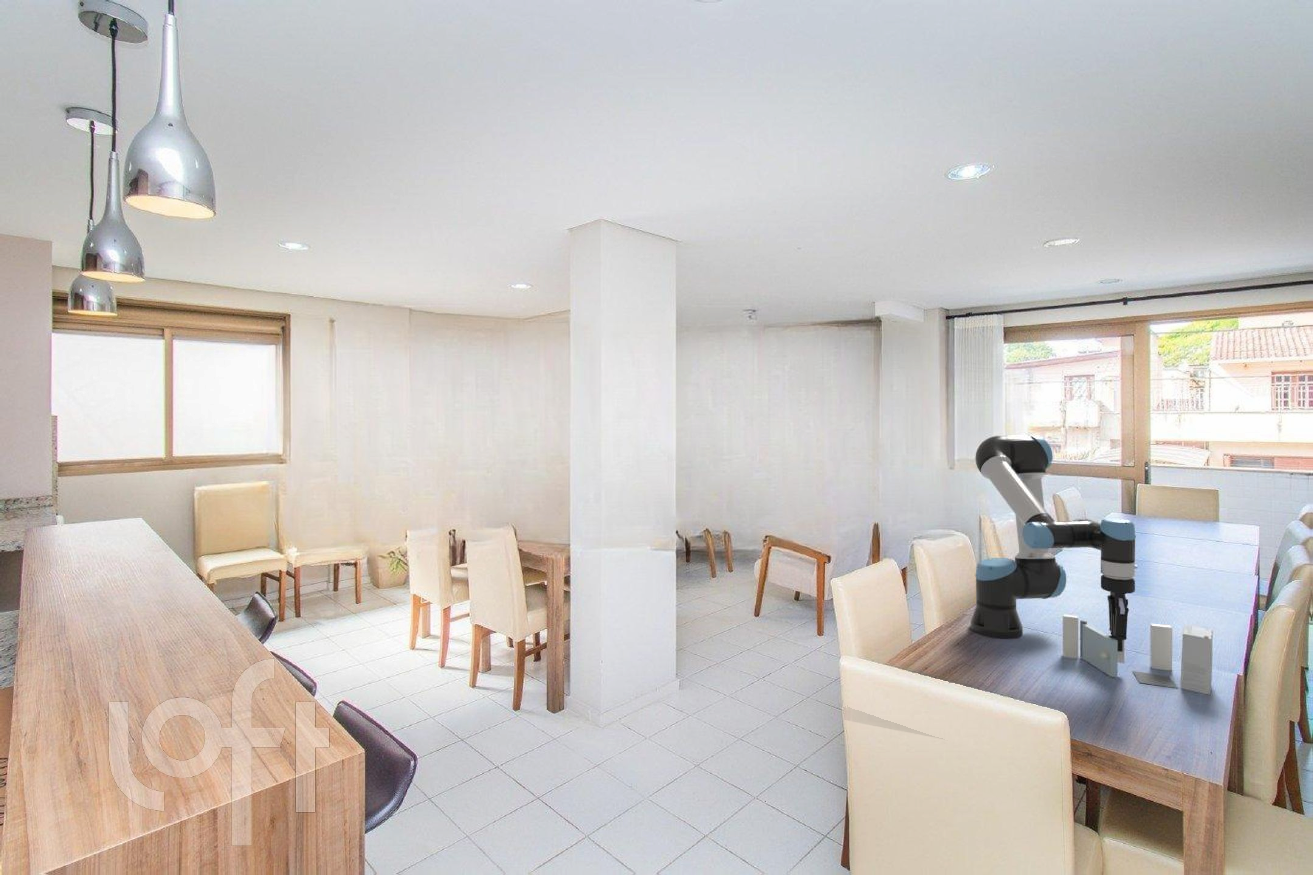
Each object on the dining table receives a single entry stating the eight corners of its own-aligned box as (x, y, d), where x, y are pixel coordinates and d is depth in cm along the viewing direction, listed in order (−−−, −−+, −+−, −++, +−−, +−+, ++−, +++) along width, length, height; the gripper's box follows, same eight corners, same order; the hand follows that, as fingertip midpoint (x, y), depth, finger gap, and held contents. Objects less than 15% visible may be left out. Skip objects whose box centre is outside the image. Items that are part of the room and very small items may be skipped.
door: (1073, 655, 183) (1073, 620, 183) (1084, 655, 183) (1084, 620, 183) (1105, 676, 169) (1105, 637, 168) (1117, 676, 168) (1117, 637, 168)
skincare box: (1182, 678, 167) (1182, 623, 167) (1212, 684, 163) (1213, 628, 162) (1180, 689, 161) (1180, 632, 160) (1211, 695, 157) (1212, 637, 156)
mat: (1139, 683, 165) (1139, 682, 165) (1132, 671, 172) (1132, 670, 172) (1177, 688, 161) (1177, 687, 161) (1169, 676, 168) (1169, 675, 168)
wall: (1063, 656, 184) (1063, 616, 183) (1062, 654, 185) (1062, 614, 185) (1172, 670, 172) (1172, 627, 172) (1170, 667, 174) (1170, 625, 173)
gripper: (1140, 583, 163) (1140, 672, 164) (1129, 571, 174) (1129, 654, 175) (1105, 580, 166) (1105, 667, 167) (1096, 569, 178) (1096, 651, 179)
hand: (1117, 661), depth 171 cm, fingers closed
